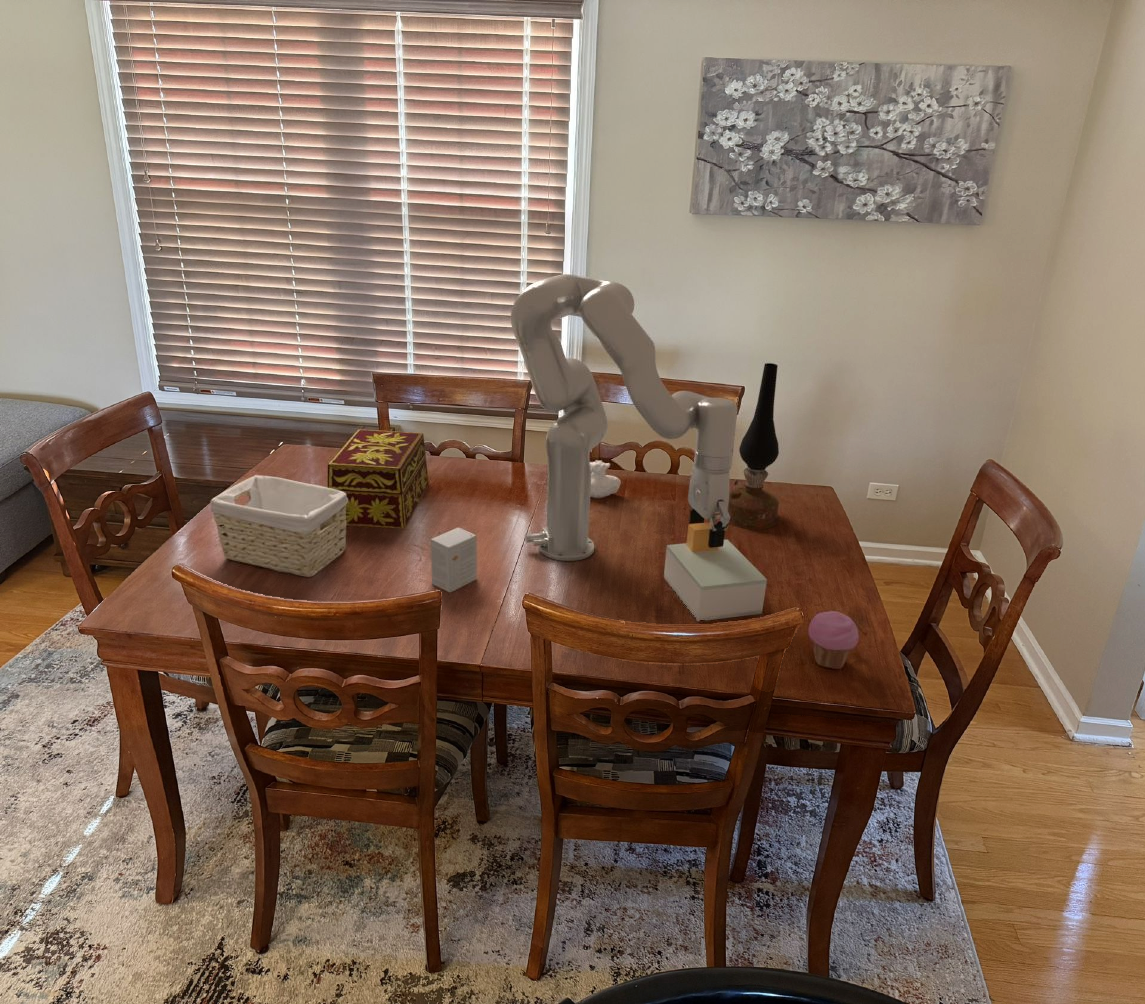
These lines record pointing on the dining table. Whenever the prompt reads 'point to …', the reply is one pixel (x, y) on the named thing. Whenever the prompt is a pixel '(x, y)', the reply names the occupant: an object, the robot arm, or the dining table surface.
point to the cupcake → (832, 638)
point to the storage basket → (282, 524)
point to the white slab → (713, 561)
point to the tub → (713, 595)
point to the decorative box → (380, 477)
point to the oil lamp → (757, 462)
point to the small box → (454, 559)
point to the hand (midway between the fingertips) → (705, 536)
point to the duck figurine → (602, 480)
